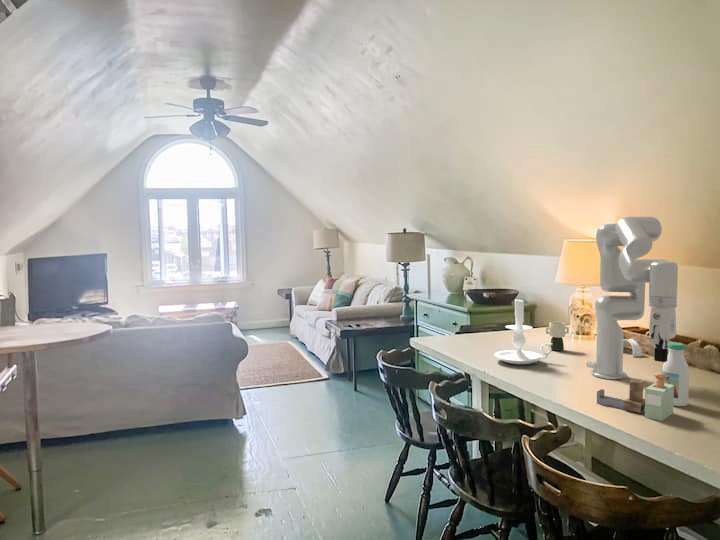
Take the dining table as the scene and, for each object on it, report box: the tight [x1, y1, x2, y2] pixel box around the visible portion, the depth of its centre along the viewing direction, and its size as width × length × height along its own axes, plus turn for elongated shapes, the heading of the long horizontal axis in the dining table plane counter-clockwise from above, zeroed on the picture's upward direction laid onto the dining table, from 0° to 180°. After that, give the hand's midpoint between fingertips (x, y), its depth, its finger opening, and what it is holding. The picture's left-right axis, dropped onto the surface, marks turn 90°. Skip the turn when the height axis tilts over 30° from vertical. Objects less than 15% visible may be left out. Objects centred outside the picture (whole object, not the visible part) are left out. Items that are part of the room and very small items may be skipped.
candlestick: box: [493, 298, 553, 365], centre depth 238 cm, size 21×25×28 cm
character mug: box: [545, 321, 570, 351], centre depth 262 cm, size 11×7×13 cm, turn 90°
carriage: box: [623, 379, 645, 414], centre depth 175 cm, size 5×6×9 cm
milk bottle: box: [661, 342, 690, 407], centre depth 181 cm, size 8×8×20 cm
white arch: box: [623, 338, 643, 358], centre depth 259 cm, size 24×12×7 cm, turn 11°
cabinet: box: [644, 382, 674, 422], centre depth 170 cm, size 5×10×9 cm, turn 134°
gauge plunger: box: [654, 372, 666, 389], centre depth 170 cm, size 3×3×7 cm
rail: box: [596, 389, 645, 415], centre depth 178 cm, size 16×4×4 cm, turn 44°
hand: (660, 360), depth 169 cm, fingers closed
